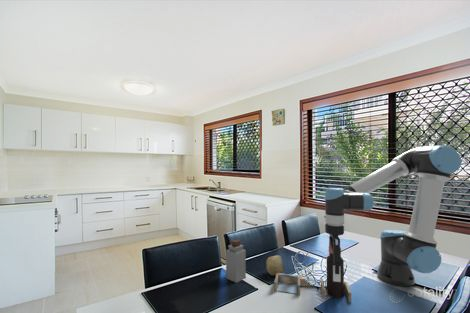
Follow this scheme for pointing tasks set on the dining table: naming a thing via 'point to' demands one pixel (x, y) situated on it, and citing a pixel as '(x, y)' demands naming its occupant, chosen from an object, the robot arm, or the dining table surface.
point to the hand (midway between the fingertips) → (334, 274)
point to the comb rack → (291, 281)
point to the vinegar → (332, 287)
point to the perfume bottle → (235, 262)
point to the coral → (274, 265)
